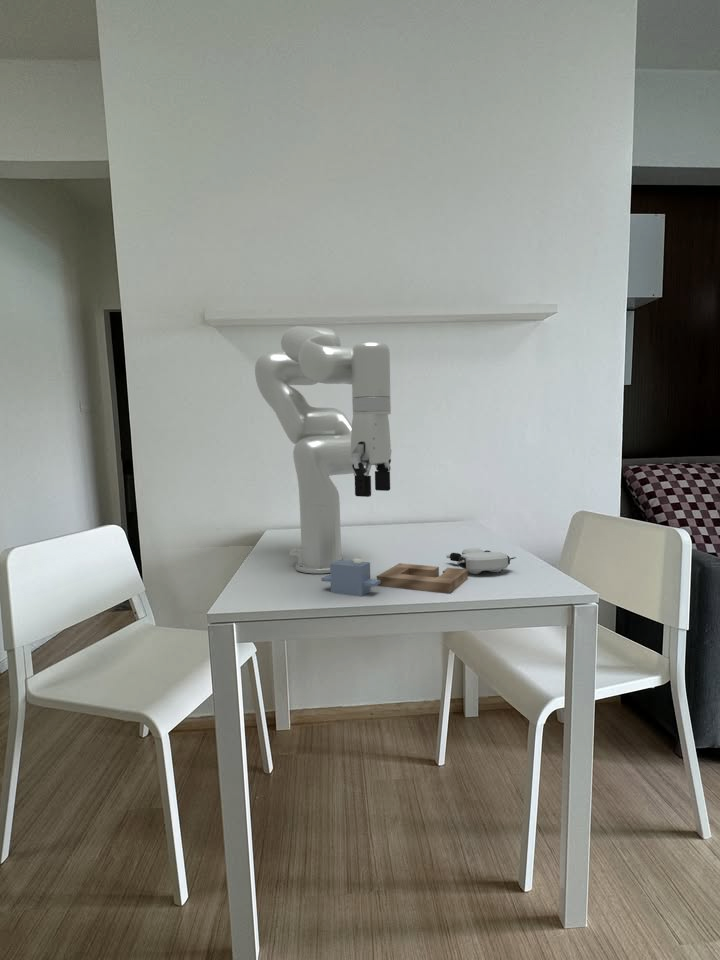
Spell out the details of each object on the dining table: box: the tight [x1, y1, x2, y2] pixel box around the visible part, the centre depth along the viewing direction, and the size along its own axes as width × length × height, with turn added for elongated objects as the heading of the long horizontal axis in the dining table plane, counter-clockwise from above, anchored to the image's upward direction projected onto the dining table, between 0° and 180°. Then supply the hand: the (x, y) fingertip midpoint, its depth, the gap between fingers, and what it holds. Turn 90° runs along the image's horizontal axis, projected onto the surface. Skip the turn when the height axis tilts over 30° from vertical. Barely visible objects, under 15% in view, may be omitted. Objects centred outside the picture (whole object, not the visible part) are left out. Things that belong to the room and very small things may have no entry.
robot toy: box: [445, 547, 517, 575], centre depth 127 cm, size 12×4×15 cm
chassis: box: [376, 563, 469, 594], centre depth 117 cm, size 16×12×2 cm
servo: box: [320, 557, 380, 597], centre depth 112 cm, size 12×4×7 cm, turn 63°
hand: (373, 493), depth 110 cm, fingers open, 9 cm apart
